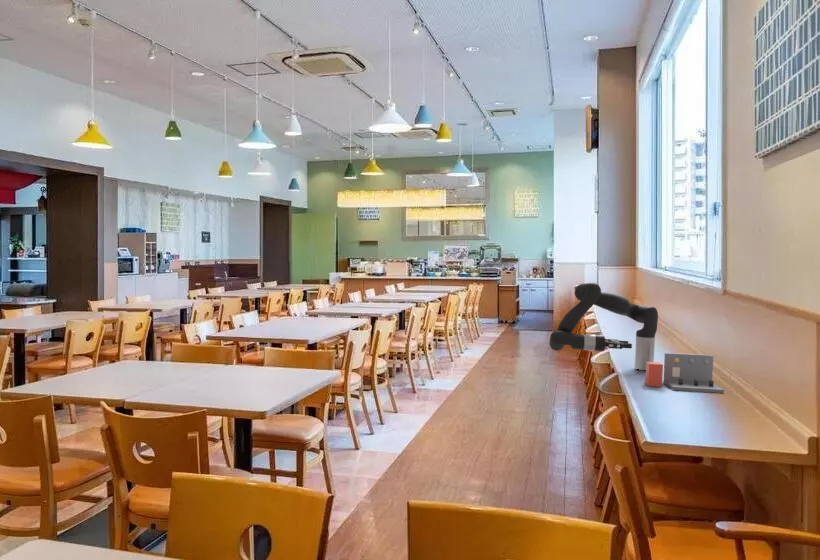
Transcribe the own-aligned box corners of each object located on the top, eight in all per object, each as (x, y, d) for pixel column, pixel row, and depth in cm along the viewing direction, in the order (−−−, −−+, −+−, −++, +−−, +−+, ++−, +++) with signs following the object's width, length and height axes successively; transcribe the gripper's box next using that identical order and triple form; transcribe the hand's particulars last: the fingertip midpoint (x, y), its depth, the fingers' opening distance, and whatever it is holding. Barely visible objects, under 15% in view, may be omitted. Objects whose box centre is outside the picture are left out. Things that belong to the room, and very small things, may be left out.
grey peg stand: (663, 382, 294) (664, 352, 294) (710, 385, 291) (712, 355, 291) (672, 390, 277) (674, 358, 277) (723, 393, 274) (725, 361, 274)
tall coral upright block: (645, 383, 292) (646, 361, 291) (658, 383, 291) (659, 362, 290) (648, 385, 286) (649, 363, 285) (662, 386, 285) (663, 364, 284)
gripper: (596, 336, 284) (633, 338, 282) (591, 332, 298) (627, 334, 296) (595, 352, 284) (632, 355, 282) (591, 348, 299) (626, 350, 296)
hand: (629, 344), depth 289 cm, fingers open, 8 cm apart
